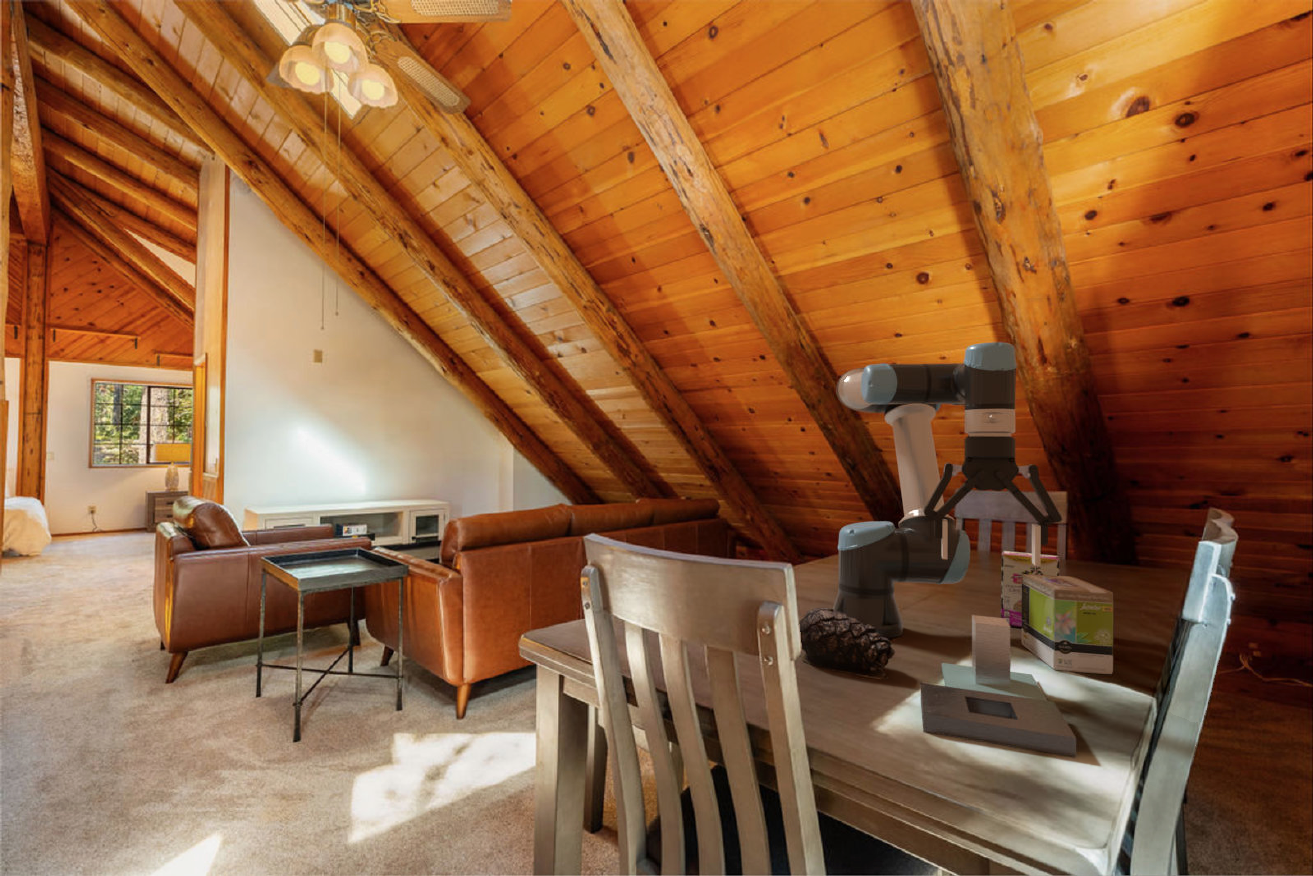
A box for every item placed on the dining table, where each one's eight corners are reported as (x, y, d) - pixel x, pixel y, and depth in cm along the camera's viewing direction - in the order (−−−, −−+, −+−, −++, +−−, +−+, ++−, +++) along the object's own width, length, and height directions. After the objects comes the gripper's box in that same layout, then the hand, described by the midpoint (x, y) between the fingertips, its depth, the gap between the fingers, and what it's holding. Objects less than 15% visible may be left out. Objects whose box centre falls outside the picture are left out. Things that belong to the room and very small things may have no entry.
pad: (946, 693, 97) (946, 687, 97) (941, 668, 108) (941, 662, 108) (1047, 708, 92) (1047, 701, 92) (1031, 680, 103) (1031, 674, 103)
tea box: (1116, 676, 105) (1115, 591, 106) (1052, 671, 107) (1052, 588, 108) (1074, 648, 120) (1074, 574, 120) (1019, 644, 122) (1019, 572, 122)
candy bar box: (1000, 626, 135) (1000, 553, 135) (1001, 620, 139) (1001, 550, 139) (1060, 634, 129) (1059, 558, 129) (1059, 628, 133) (1059, 555, 133)
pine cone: (891, 684, 101) (891, 625, 101) (789, 664, 110) (789, 609, 110) (901, 666, 109) (901, 611, 110) (806, 648, 119) (806, 598, 119)
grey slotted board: (923, 731, 84) (923, 713, 84) (920, 698, 95) (920, 682, 95) (1076, 757, 77) (1076, 738, 77) (1053, 718, 88) (1053, 701, 88)
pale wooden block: (975, 683, 98) (975, 622, 99) (972, 673, 103) (972, 615, 103) (1010, 688, 97) (1010, 626, 97) (1005, 677, 101) (1005, 618, 101)
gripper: (909, 434, 102) (909, 559, 102) (1084, 435, 93) (1083, 572, 92) (909, 435, 109) (908, 551, 109) (1071, 435, 99) (1070, 563, 99)
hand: (989, 561), depth 101 cm, fingers open, 13 cm apart
